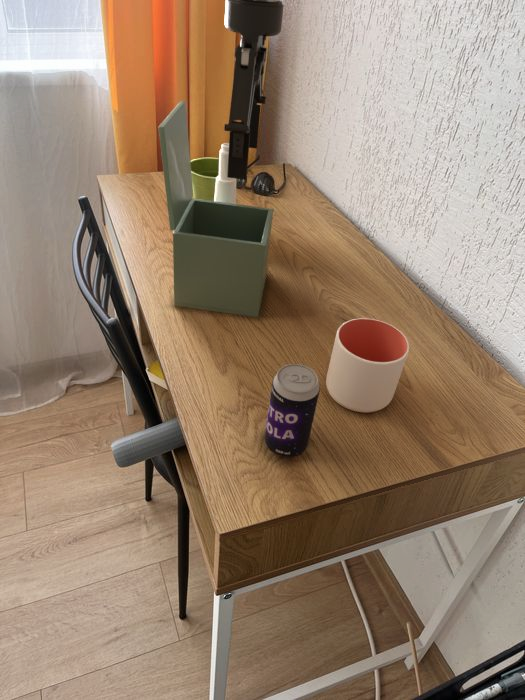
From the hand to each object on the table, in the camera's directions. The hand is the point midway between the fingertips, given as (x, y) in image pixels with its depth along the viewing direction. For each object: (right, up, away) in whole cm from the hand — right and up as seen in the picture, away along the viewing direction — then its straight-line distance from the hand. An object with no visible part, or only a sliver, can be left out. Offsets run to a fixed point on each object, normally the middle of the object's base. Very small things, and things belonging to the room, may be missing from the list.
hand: (243, 161), depth 81 cm
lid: (-10, 0, +1) cm, 10 cm away
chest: (-4, -18, +15) cm, 24 cm away
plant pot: (-8, +1, +37) cm, 38 cm away
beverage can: (+6, -42, -12) cm, 44 cm away
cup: (+17, -35, -3) cm, 39 cm away
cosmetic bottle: (-5, -10, +24) cm, 27 cm away
